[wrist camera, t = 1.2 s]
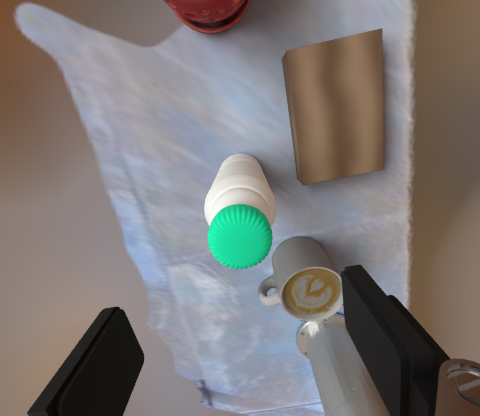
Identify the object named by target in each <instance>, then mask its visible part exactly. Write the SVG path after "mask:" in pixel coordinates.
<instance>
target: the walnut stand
mask: <svg viewBox="0 0 480 416" xmlns="http://www.w3.org/2000/svg"><path fill="white" fill-rule="evenodd" d="M282 63H283V71H284V79H285V86H286V94H287V102H288V109H289V117H290V125H291V132H292V140H293V148H294V155H295V163H296V170H297V178H298V180H299V181H300V182H301V183H302V184H303V185H306V184H311V183H316V182H322V181H327V180H332V179H337V178H342V177H347V176H352V175H357V174H362V173H367V172H373V171H378V170H383V169H384V121H383V48H382V29H378V30H373V31H369V32H365V33H361V34H356V35H352V36H348V37H344V38H339V39H335V40H331V41H327V42H322V43H318V44H314V45H310V46H305V47H301V48H297V49H293V50H288V51H286V53H285V55H284V56H283V58H282Z"/></svg>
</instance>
